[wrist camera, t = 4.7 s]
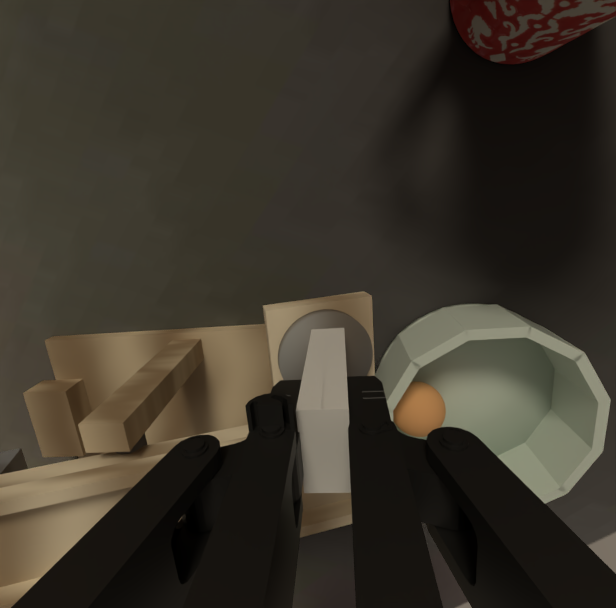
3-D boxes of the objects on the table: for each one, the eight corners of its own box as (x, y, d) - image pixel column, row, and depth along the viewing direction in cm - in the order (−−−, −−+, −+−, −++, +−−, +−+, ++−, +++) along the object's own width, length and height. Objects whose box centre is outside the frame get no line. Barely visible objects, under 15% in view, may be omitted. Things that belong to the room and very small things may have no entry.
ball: (452, 447, 23) (437, 416, 26) (453, 397, 22) (437, 371, 25) (395, 449, 23) (387, 418, 26) (393, 399, 22) (385, 373, 25)
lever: (-78, 560, 20) (-196, 702, 14) (-175, 348, 17) (-378, 422, 11) (354, 460, 25) (395, 536, 19) (344, 280, 21) (390, 306, 16)
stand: (77, 467, 30) (-55, 608, 20) (39, 337, 27) (-139, 422, 17) (291, 461, 28) (268, 609, 18) (275, 323, 25) (238, 407, 15)
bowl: (377, 466, 28) (385, 518, 23) (371, 309, 25) (379, 334, 20) (549, 461, 27) (593, 515, 22) (566, 297, 24) (622, 321, 19)
